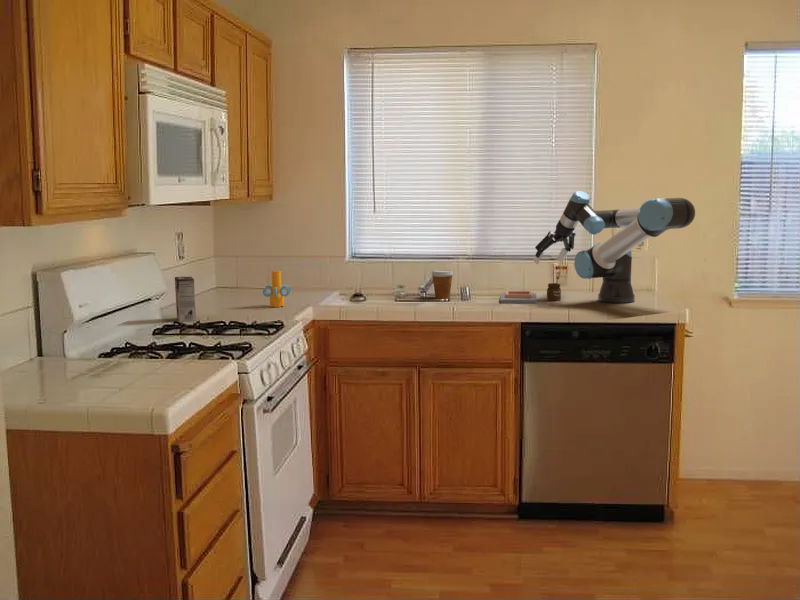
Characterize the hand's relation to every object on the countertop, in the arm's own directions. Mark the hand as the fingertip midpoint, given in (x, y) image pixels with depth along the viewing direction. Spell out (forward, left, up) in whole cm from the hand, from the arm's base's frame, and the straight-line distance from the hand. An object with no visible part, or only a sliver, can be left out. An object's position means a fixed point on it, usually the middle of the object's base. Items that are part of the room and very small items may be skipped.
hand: (547, 261), depth 386 cm
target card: (-2, +18, -15) cm, 24 cm away
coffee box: (+31, +154, -16) cm, 158 cm away
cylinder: (+41, +112, -16) cm, 120 cm away
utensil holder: (-12, +7, -16) cm, 21 cm away
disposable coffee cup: (+21, +42, -16) cm, 49 cm away
